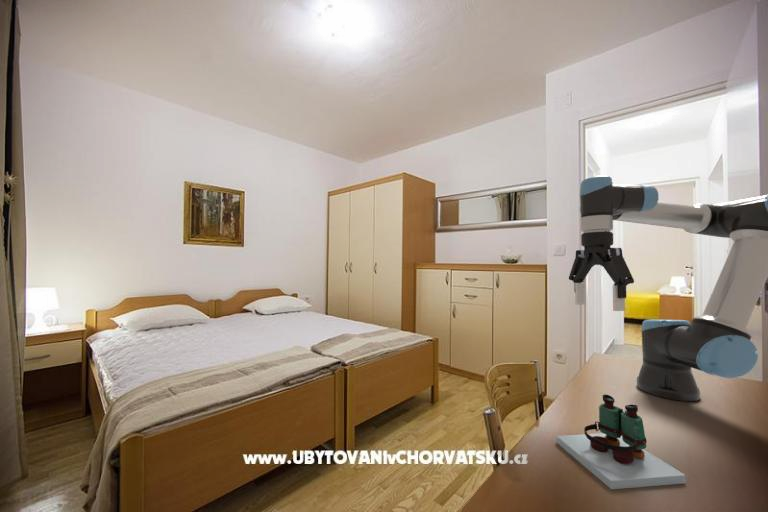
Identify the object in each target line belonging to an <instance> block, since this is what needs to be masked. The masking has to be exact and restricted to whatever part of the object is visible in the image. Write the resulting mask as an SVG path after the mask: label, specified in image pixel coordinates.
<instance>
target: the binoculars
mask: <svg viewBox="0 0 768 512" xmlns="http://www.w3.org/2000/svg"><path fill="white" fill-rule="evenodd" d="M602 401H603V403H602V404H600V405H599V407H598V411H599V412H598V413H599V414H598V415H599V416H598V417H599V419H598V421H596V420H595V421H594V423H593V424H590V425H589V424H588V425H586V426H584V429H583V431H584V434H585V435H586V437H587V438H588V439H589V440H590V445H591V447H592V448H593V449H594V450H596V451H599V452H607V451H608V450H609V449H611V450H613V451H612V454H613V457H614V460H615V461H617V462H619V463H623V464H629V463H632V462H633V461H634V459H633V456H634V457H638V458H645V456H644V451H642V449H644V450H646V448H647V437H646V435H645V427H644V422H643V418H642V417H641V416H640V415H638V412H639V408H638V407H639V406H638V405H637V404H626V405H625V406H624V409H625V410H623V408H621V407H618V406H616V405H614V404H615V402H616V401H615V398H614V397H613V396H611V395H609V394H603V395H602ZM591 430H592V431H593V430H595V432H598V431H599V432H601V433H604V434H606V436H605V437H600V436H593V437H592V436H590V435H589V434H590V433H588V431H591ZM621 436H622V439H623V441H624V442H625V443H626V444H628V445H629V446H628V447H622V446H620V440H619V439H617V438H620V437H621Z"/></svg>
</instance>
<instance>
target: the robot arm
mask: <svg viewBox="0 0 768 512" xmlns="http://www.w3.org/2000/svg"><path fill="white" fill-rule="evenodd" d="M613 183H614V182H613V179H612V177H611V176H608V175H596V176H591V177H587V178H585V179H583V180H582V181H581V182H580V189H579V198H580V199H579V200H580V201H579V202H580V206H579V211H580V231H581V232H582V233H581V235H580V245H581V246H582V247H584V249H583V250H581V249H577V250H576V251H575V258H574V260H573V263H572V267H571V269H570V273H569V276H568V280H569V281H572V282H573V285H574V286H573V287H574V294H575V297H574V298H575V299H574V300H575V301H574V302H575V305H578V306H579V305H581V306H582V305H586V303H587V301H586V299H587V298H586V282H585V279H586V277H587V276H588V275H589V272H590V271H591V269H592V268H593V267H594V266H601V267H602V268H603V269H604V270H605V272H606V273H607V275H608V276H609V277H610V279H611V280H612V282H613V285H612V311H613V312H625V311H626V298H627V286H628V285H630V284H634V283H635V280H634V277H633V275H632V273H631V271H630V269H629V267H628V265H627V262H626V261H625V258H624V256H623V249H622V248H621V247H612V246H613V245H614V233H613V232H612V231H613V229H614V223H613V221H619V222H626V223H634V224H642V225H649V226H658V227H666V228H673V229H682V230H684V231H685V232H687V233H689V234H696V235H701V236H702V235H703V236H710V237H715V238H717V237H718V238H725V239H731V240H732V241H733V244H732V246H731V248H730V250H729V252H728V255H727V258H726V260H725V262H724V264H723V267H722V269H721V271H720V273H719V276H718V279H717V281H716V282H715V284H714V288H713V290H712V293H710V297H709V299H708V301H707V304H706V305H705V309H704V311H703V313H702V315H697V316H696V317H695V316H694V317H693V318H692V320H691V322H690V321H689V320H684V319H657V318H656V319H652V318H651V319H645V320H643V321H642V324H641V325H642V327H641V348H642V349H641V350H642V364H641V368H640V371H639V374H638V376H637V377H636V387H637V388H638V389H639V390H640V391H643V392H645V393H647V394H650V395H654V396H656V397H661V398H664V399H669V400H675V401H679V402H680V401H681V402H682V401H683V402H696V401H699V400H701V391H700V388H699V387H698V385H697V382H696V379H695V377H694V374H693V371H692V369H695V370H697V371H698V370H699V371H700V372H701V371H702V372H704V373H706V374H708V375H710V376H716V377H720V378H725V379H736V378H739V377H743V376H745V375H748V374H749V373H750V372H751V371H752V370H753V369H754V368H755V366H756V364H757V362H758V359H759V354H758V352H757V351H758V349H757V347H756V346H755V344H754V342H752V340H751V338H752V334H751V333H750V331H749V330H748V329H747V326H748V324H749V322H750V319H751V317H752V315H753V312H754V310H755V307H756V305H757V303H758V300H759V298H760V295H761V293H762V291H763V290H764V287H765V283H766V281H767V280H768V194H764V195H759V196H754V197H748V198H742V199H736V200H730V201H725V202H720V203H719V202H718V203H710V204H706V203H705V204H704V203H696V204H692V205H687V204H686V205H685V204H677V203H671V202H662V201H659V198H660V197H659V191H658V189H657V188H656V187H655V186H653V185H649V184H643V183H640V184H613Z"/></svg>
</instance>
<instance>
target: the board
mask: <svg viewBox="0 0 768 512" xmlns="http://www.w3.org/2000/svg"><path fill="white" fill-rule="evenodd" d="M588 434H589V435H590V436H592V437H593V436H600V437H605V436H606V434H604V433H602V432H601V433H600V432H599V433H588ZM617 439H619V440H620V446H622V447H628V446H629V445H628V444H626V443H625V442H624V441H623V439H622V436H621V437H620V438H617ZM556 444H558V445H559V446H560V447H561V448H562V449H564V450H565V451H566V452H567V453H568V454H569V455H571V456H572V457H573V458H574V459H575V460H576V461H578V462H579V463H580V464H581V465H582V466H583V467H584V468H585V469H587V470H588V471H589V472H590V473H591V474H592V475H594V476H595V477H596V478H598V480H600V481H601V482H602V483H603V484H604V485H605V486H606V487H608V488H609V489H610V490H620V489H621V490H623V489H633V488H634V489H635V488H644V487H645V488H647V487H656V486H657V487H658V486H670V485H671V486H672V485H682V484H686V475H685V474H684V473H683V472H682V471H679V470H678V469H677V468H674V467H673V466H671V465H670V464H668V463H666V462H665V461H664V460H662V459H660V458H659V457H658V456H655V455H654V454H652V453H651V452H650V451H647V450H646V449H642V451H644V456H645V458H638V457H634V456H633V459H634V461H633V462H632V463H629V464H623V463H619V462H617V461H615V460H614V457H613V454H612V451H613V450H611V449H609V450H608V451H607V452H599V451H596V450H594V449H593V448H592V447H591V445H590V440H589V439H588V438H587V437H586V435H585V433H583V434H570V435H569V434H568V435H556Z"/></svg>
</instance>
